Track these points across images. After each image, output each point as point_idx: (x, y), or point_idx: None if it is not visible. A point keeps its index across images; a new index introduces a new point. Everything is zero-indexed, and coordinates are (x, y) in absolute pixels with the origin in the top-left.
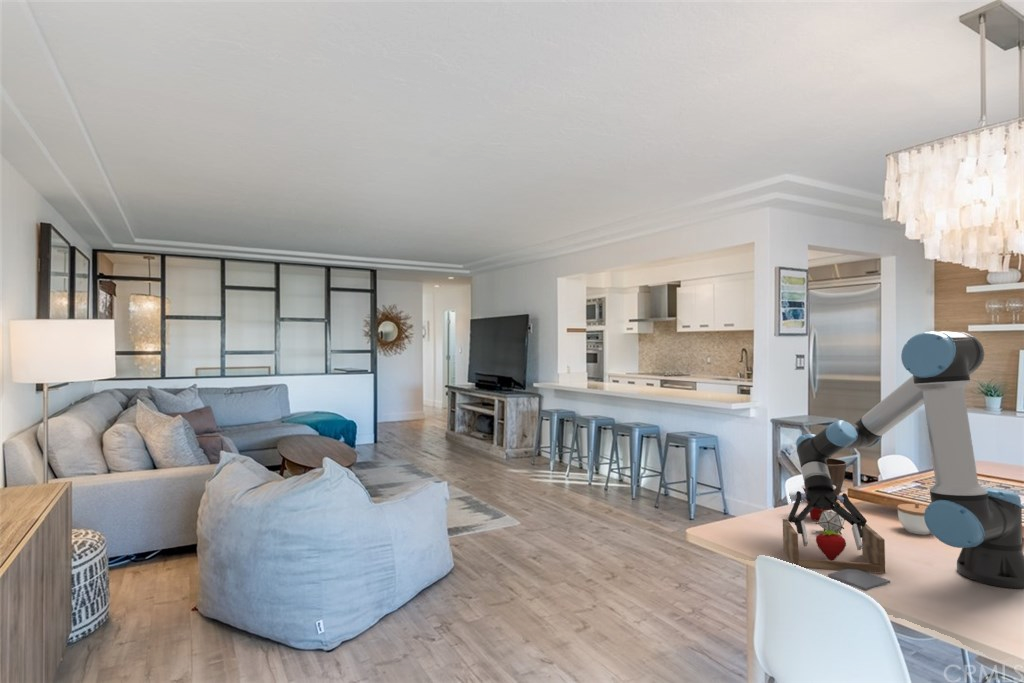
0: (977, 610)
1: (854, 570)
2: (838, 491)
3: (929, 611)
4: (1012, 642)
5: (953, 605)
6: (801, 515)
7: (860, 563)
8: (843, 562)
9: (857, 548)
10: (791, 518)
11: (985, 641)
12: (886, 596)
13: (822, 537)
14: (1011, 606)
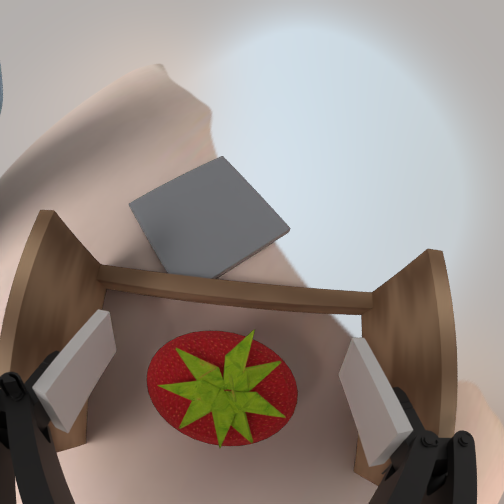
0: (79, 127)
1: (188, 267)
2: None
3: (156, 109)
4: (125, 75)
5: (97, 133)
6: (418, 468)
7: (154, 279)
8: (214, 281)
9: (114, 345)
10: (456, 434)
11: (153, 70)
12: (192, 142)
13: (278, 365)
14: (25, 153)
